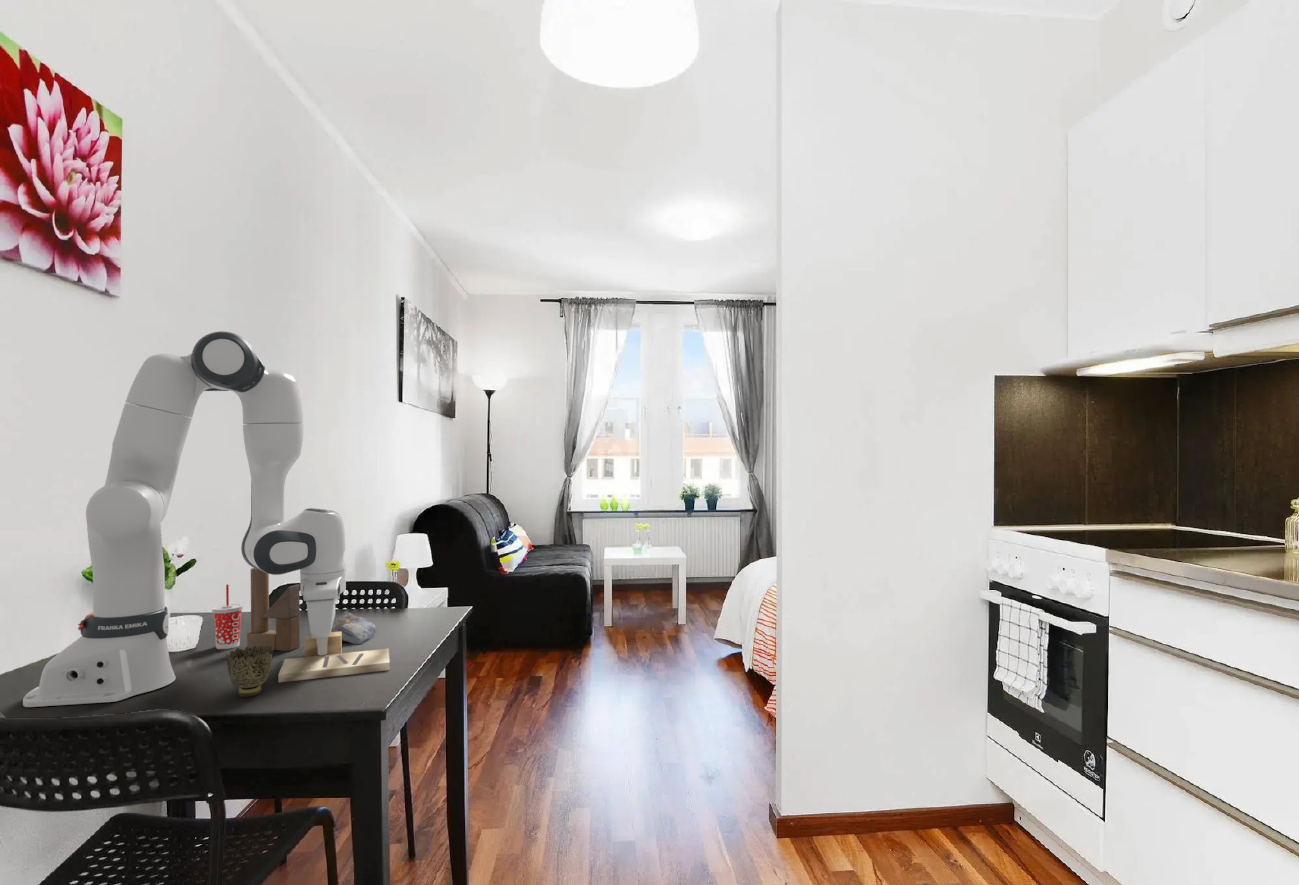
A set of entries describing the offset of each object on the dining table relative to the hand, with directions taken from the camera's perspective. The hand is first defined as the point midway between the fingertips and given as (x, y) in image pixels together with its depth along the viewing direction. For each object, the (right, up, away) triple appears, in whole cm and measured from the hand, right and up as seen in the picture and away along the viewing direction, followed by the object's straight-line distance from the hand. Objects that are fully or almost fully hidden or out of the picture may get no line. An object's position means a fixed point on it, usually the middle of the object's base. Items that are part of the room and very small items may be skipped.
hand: (324, 649), depth 154 cm
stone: (-1, -3, +19) cm, 19 cm away
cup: (-3, -2, -23) cm, 23 cm away
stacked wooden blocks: (-15, -2, +8) cm, 17 cm away
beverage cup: (-27, -3, +10) cm, 29 cm away
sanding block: (0, -2, 0) cm, 2 cm away
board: (+6, -2, -7) cm, 10 cm away
